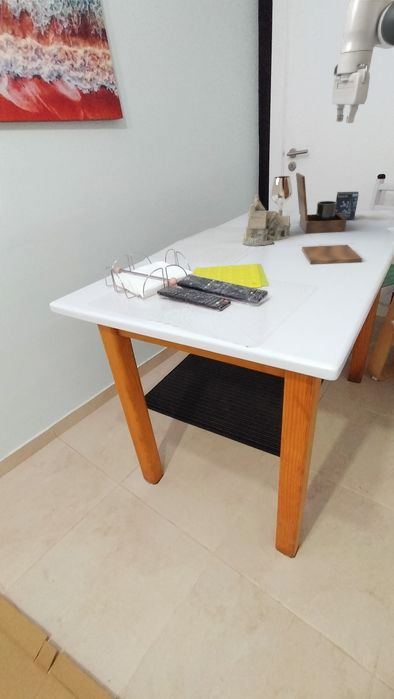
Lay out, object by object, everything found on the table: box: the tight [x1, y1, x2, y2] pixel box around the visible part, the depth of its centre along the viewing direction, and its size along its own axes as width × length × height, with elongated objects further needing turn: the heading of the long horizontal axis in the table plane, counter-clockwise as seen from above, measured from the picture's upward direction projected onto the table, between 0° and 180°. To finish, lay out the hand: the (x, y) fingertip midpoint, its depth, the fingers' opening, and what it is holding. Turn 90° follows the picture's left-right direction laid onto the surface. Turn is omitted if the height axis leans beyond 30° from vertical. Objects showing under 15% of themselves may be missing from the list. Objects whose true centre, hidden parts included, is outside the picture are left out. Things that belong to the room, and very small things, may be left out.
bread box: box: [299, 213, 347, 235], centre depth 125 cm, size 14×13×5 cm
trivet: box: [301, 244, 363, 265], centre depth 101 cm, size 14×14×1 cm
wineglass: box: [270, 175, 293, 210], centre depth 131 cm, size 8×8×18 cm
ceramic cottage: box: [242, 194, 291, 247], centre depth 117 cm, size 16×16×15 cm
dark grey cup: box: [315, 200, 337, 221], centre depth 123 cm, size 6×6×9 cm
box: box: [335, 191, 360, 221], centre depth 134 cm, size 8×6×11 cm
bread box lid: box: [295, 172, 309, 221], centre depth 120 cm, size 14×13×1 cm
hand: (344, 122), depth 107 cm, fingers open, 8 cm apart
